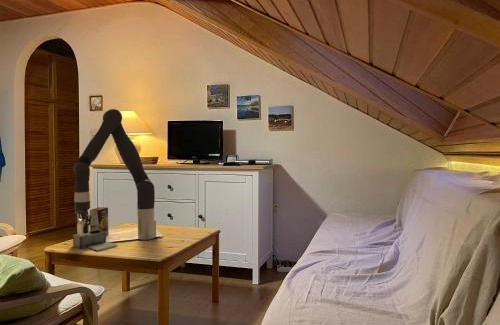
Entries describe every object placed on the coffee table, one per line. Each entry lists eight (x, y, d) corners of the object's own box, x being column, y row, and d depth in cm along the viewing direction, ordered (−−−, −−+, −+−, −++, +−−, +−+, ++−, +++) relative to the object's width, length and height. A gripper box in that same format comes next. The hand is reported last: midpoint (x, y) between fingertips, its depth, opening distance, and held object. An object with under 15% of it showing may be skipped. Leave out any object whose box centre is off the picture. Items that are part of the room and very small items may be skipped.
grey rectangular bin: (98, 240, 212) (97, 229, 211) (105, 242, 206) (105, 232, 206) (73, 246, 201) (72, 234, 200) (80, 249, 196) (80, 237, 195)
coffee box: (100, 238, 215) (99, 210, 214) (89, 237, 216) (89, 209, 215) (109, 234, 224) (108, 207, 223) (99, 233, 225) (98, 206, 224)
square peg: (85, 244, 204) (85, 222, 203) (90, 245, 201) (89, 223, 201) (77, 246, 201) (77, 223, 200) (81, 247, 198) (81, 224, 197)
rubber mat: (108, 243, 206) (108, 241, 206) (117, 246, 200) (117, 244, 200) (88, 247, 197) (88, 246, 197) (97, 251, 192) (97, 249, 192)
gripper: (96, 200, 198) (97, 233, 199) (82, 197, 207) (83, 228, 208) (82, 202, 192) (83, 236, 193) (68, 199, 201) (69, 231, 202)
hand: (83, 232), depth 201 cm, fingers closed on square peg, 4 cm apart
